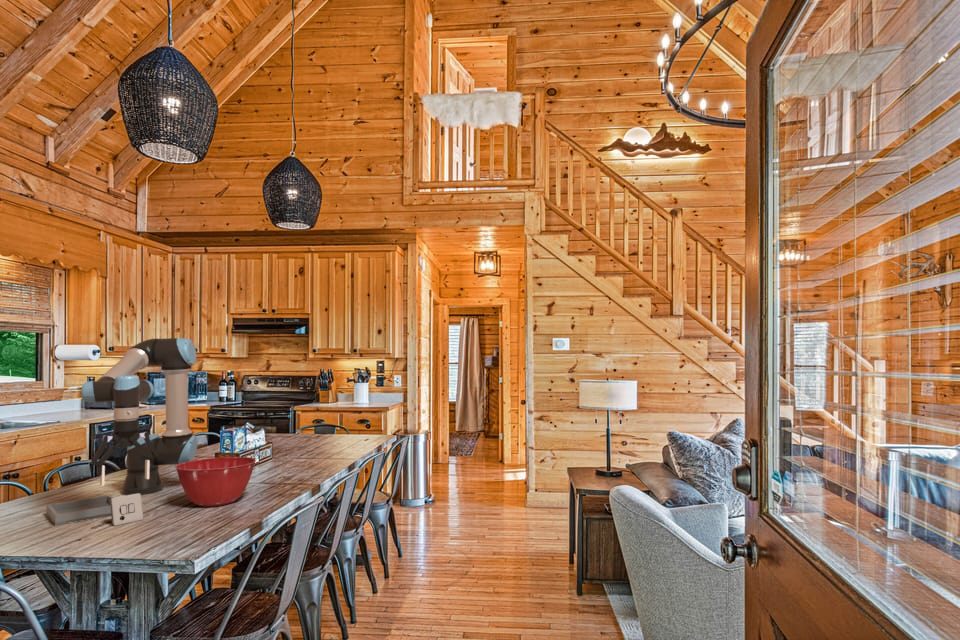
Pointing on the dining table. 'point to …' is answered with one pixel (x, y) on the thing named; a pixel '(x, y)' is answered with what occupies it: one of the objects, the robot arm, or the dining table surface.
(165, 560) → the dining table surface
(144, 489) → the robot arm
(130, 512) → the electrical switch
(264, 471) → the dining table surface
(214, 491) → the mixing bowl
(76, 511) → the parts tray
